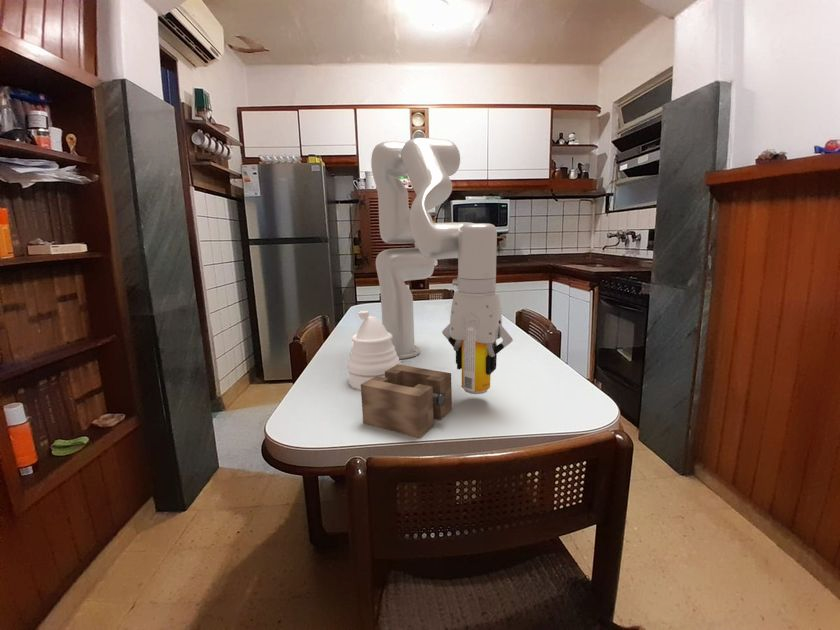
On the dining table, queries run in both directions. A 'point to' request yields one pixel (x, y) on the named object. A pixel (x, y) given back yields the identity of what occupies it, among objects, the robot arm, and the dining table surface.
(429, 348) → the dining table surface
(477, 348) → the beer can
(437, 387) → the brown wooden clamp block
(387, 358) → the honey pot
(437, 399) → the plunger
